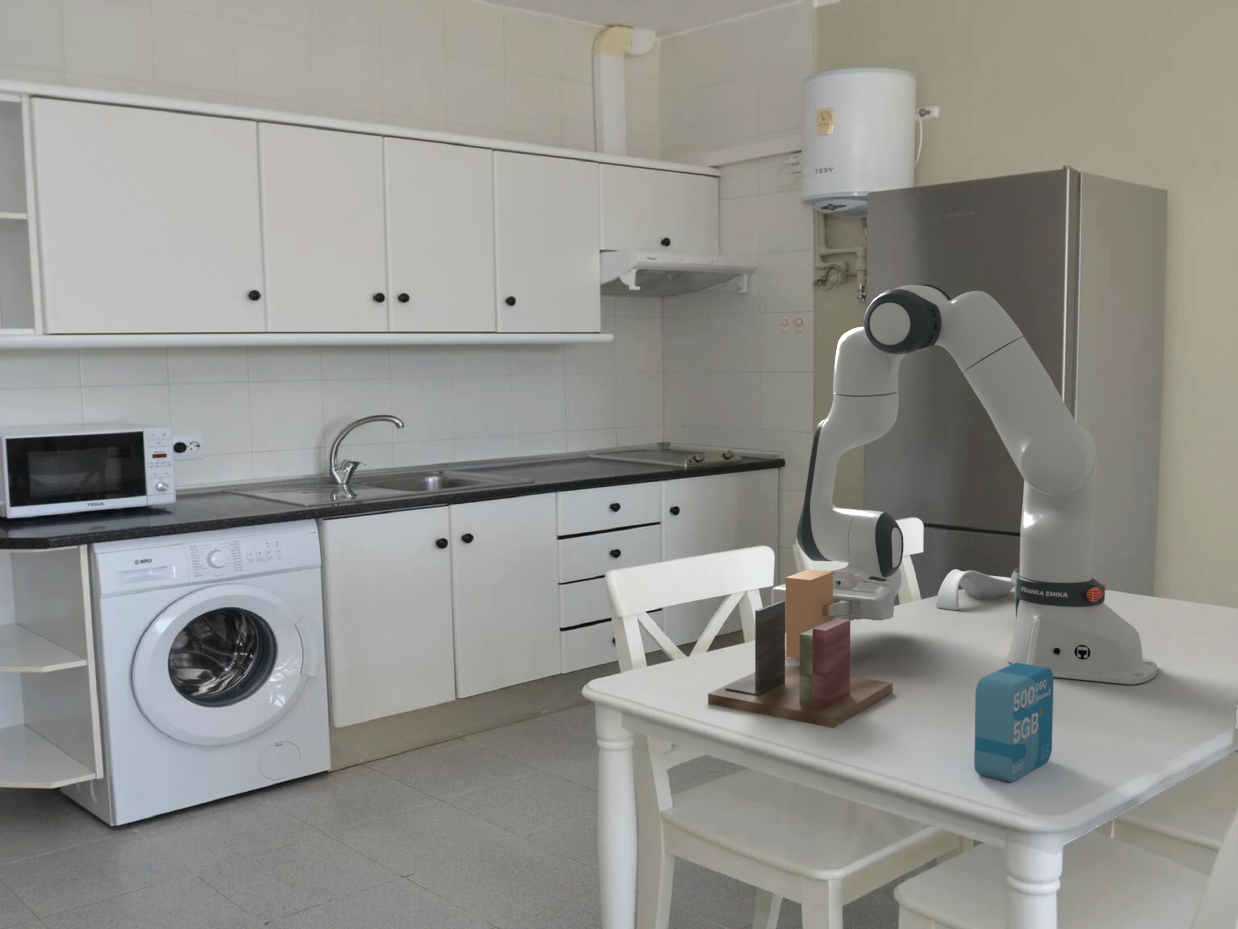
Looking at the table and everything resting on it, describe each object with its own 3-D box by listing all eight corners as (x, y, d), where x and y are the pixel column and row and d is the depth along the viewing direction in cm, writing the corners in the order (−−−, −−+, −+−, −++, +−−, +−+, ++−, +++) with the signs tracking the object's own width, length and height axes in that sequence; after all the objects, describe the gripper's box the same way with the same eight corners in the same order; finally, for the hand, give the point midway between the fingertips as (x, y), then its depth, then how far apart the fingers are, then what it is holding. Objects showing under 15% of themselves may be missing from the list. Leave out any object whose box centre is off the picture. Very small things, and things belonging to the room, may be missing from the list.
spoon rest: (971, 588, 257) (971, 555, 256) (1025, 595, 249) (1025, 561, 249) (919, 607, 239) (920, 571, 238) (976, 615, 231) (976, 578, 231)
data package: (1008, 786, 142) (1010, 686, 141) (973, 777, 145) (974, 679, 144) (1052, 760, 150) (1054, 666, 149) (1017, 752, 154) (1019, 659, 152)
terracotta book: (833, 649, 198) (832, 571, 197) (811, 660, 192) (810, 580, 191) (808, 646, 201) (808, 569, 200) (786, 656, 195) (785, 577, 193)
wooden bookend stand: (892, 692, 180) (893, 600, 179) (833, 727, 164) (834, 626, 162) (773, 672, 192) (773, 586, 190) (708, 703, 175) (707, 609, 174)
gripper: (792, 571, 213) (753, 584, 202) (902, 581, 201) (867, 596, 190) (792, 606, 214) (754, 621, 202) (902, 618, 202) (867, 635, 190)
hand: (810, 609), depth 196 cm, fingers closed on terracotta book, 4 cm apart
